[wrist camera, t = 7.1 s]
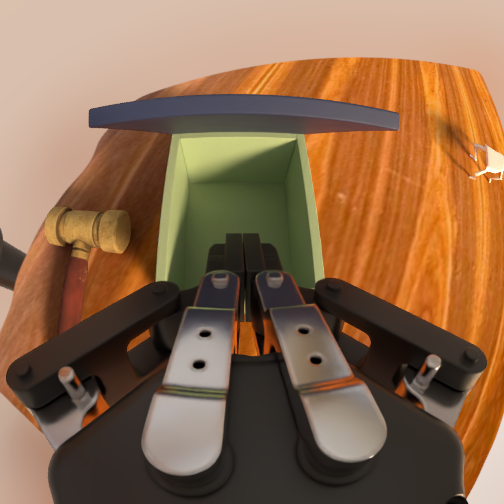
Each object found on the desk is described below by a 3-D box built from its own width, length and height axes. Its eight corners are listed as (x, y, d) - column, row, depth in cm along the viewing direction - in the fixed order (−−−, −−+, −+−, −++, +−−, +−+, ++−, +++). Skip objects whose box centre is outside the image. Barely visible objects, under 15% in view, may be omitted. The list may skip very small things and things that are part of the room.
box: (300, 312, 29) (326, 297, 20) (177, 314, 28) (154, 300, 20) (289, 181, 34) (304, 133, 25) (184, 181, 33) (172, 133, 25)
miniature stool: (470, 144, 41) (483, 130, 36) (496, 174, 39) (510, 162, 34) (457, 170, 38) (472, 155, 33) (486, 205, 36) (503, 192, 31)
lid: (399, 130, 10) (400, 112, 10) (87, 128, 9) (87, 109, 9) (304, 134, 25) (305, 126, 25) (171, 134, 24) (171, 126, 24)
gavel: (93, 410, 21) (23, 380, 21) (111, 400, 25) (44, 377, 25) (121, 203, 26) (50, 200, 26) (134, 219, 31) (68, 214, 31)
